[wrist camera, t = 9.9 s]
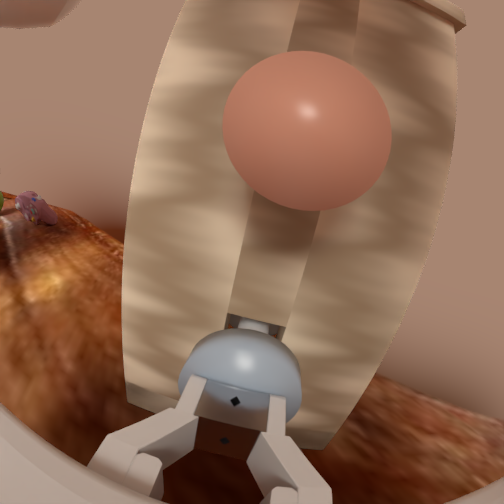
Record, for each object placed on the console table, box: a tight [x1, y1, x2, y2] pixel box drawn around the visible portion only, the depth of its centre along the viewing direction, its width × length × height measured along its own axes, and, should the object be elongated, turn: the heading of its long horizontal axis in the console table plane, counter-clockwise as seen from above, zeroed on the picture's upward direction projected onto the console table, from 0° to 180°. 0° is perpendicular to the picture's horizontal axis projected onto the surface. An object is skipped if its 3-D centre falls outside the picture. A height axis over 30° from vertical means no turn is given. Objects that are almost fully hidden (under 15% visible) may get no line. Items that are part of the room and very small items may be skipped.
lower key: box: [178, 314, 302, 423], centre depth 12 cm, size 4×9×4 cm, turn 172°
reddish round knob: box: [222, 51, 392, 211], centre depth 10 cm, size 4×9×4 cm, turn 173°
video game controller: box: [15, 191, 57, 225], centre depth 36 cm, size 10×5×7 cm, turn 77°
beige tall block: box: [122, 0, 466, 450], centre depth 12 cm, size 13×6×25 cm, turn 82°
